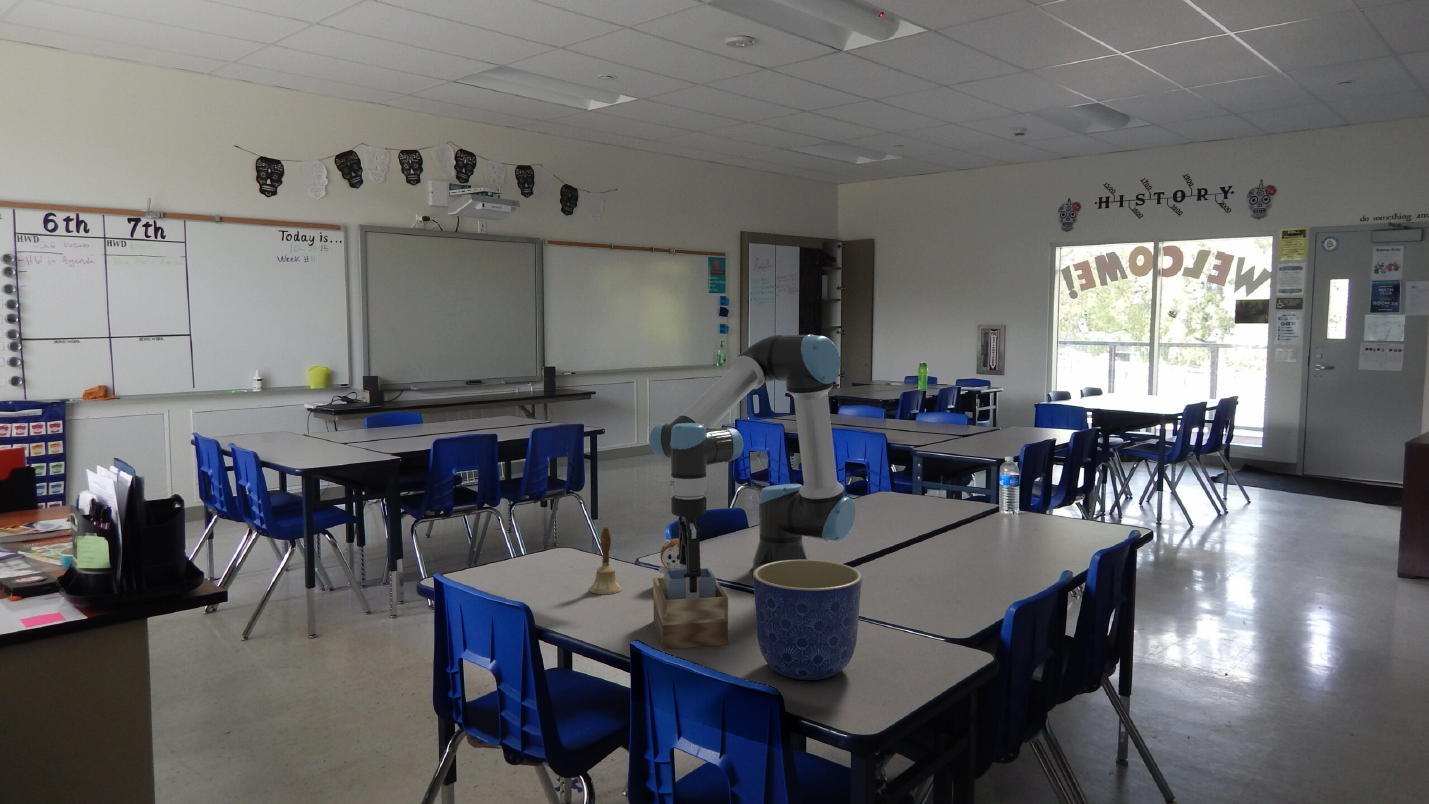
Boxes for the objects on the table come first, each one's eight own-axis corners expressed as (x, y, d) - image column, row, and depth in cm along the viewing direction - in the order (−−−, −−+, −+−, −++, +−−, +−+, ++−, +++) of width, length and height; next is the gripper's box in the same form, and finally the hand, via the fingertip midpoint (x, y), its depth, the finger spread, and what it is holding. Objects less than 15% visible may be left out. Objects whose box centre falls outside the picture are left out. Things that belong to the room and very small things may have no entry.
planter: (883, 674, 169) (884, 576, 167) (801, 701, 157) (801, 596, 155) (811, 643, 186) (811, 553, 184) (731, 665, 174) (731, 569, 172)
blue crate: (709, 594, 197) (709, 567, 196) (715, 605, 189) (715, 577, 188) (664, 596, 195) (664, 570, 194) (668, 608, 187) (668, 580, 187)
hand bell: (625, 585, 228) (624, 524, 226) (618, 595, 219) (617, 531, 218) (593, 584, 228) (592, 523, 227) (585, 594, 220) (584, 530, 219)
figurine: (655, 590, 223) (655, 543, 222) (661, 580, 232) (661, 535, 231) (692, 591, 222) (691, 544, 221) (696, 581, 231) (696, 536, 230)
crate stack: (713, 617, 202) (713, 574, 201) (728, 644, 185) (728, 597, 184) (653, 621, 200) (653, 577, 199) (663, 648, 183) (662, 601, 182)
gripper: (665, 487, 200) (666, 587, 201) (678, 506, 179) (678, 616, 181) (698, 486, 201) (698, 585, 203) (714, 504, 180) (715, 614, 182)
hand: (689, 599), depth 192 cm, fingers closed on blue crate, 8 cm apart
